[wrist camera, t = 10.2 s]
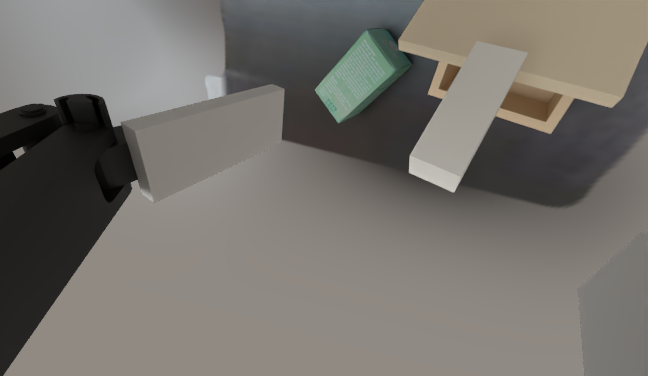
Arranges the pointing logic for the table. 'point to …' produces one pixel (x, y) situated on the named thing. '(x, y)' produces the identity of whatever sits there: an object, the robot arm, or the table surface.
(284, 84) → the table surface
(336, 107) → the box
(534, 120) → the carton
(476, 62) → the lid
